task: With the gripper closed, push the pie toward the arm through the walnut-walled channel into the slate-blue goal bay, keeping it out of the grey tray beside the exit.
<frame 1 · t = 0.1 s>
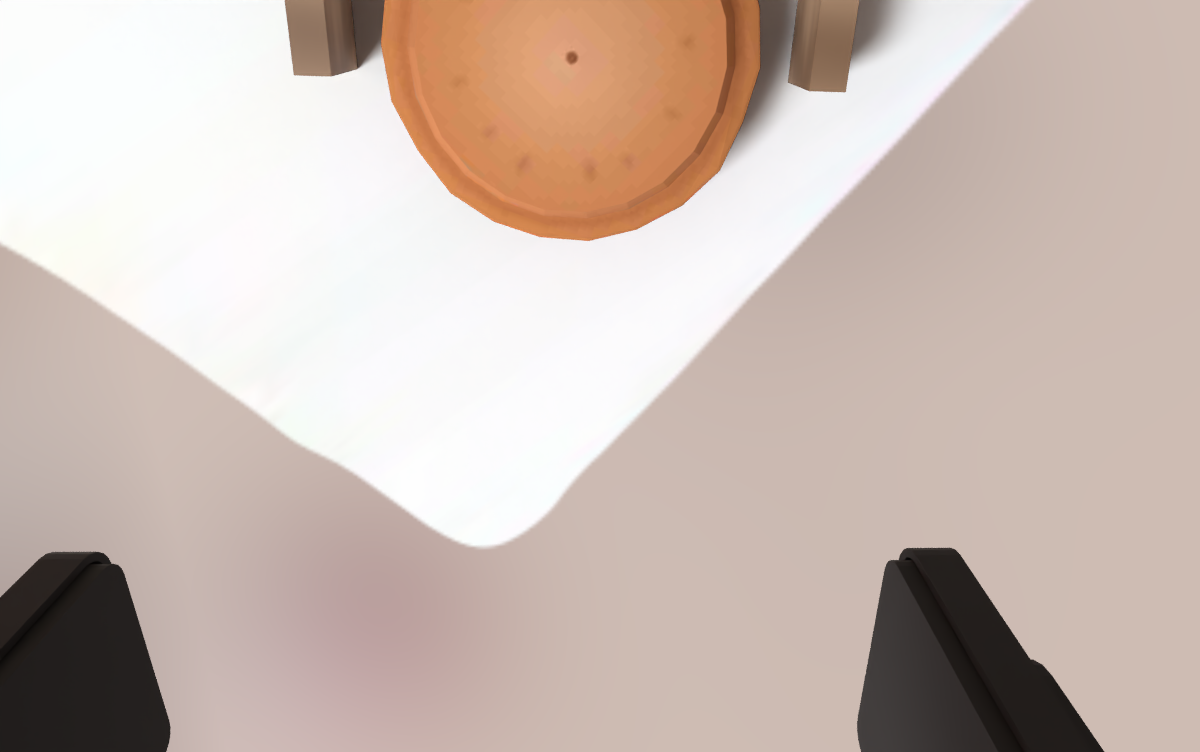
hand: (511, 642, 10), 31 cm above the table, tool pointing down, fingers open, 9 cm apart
pie: (574, 51, 36), on the table
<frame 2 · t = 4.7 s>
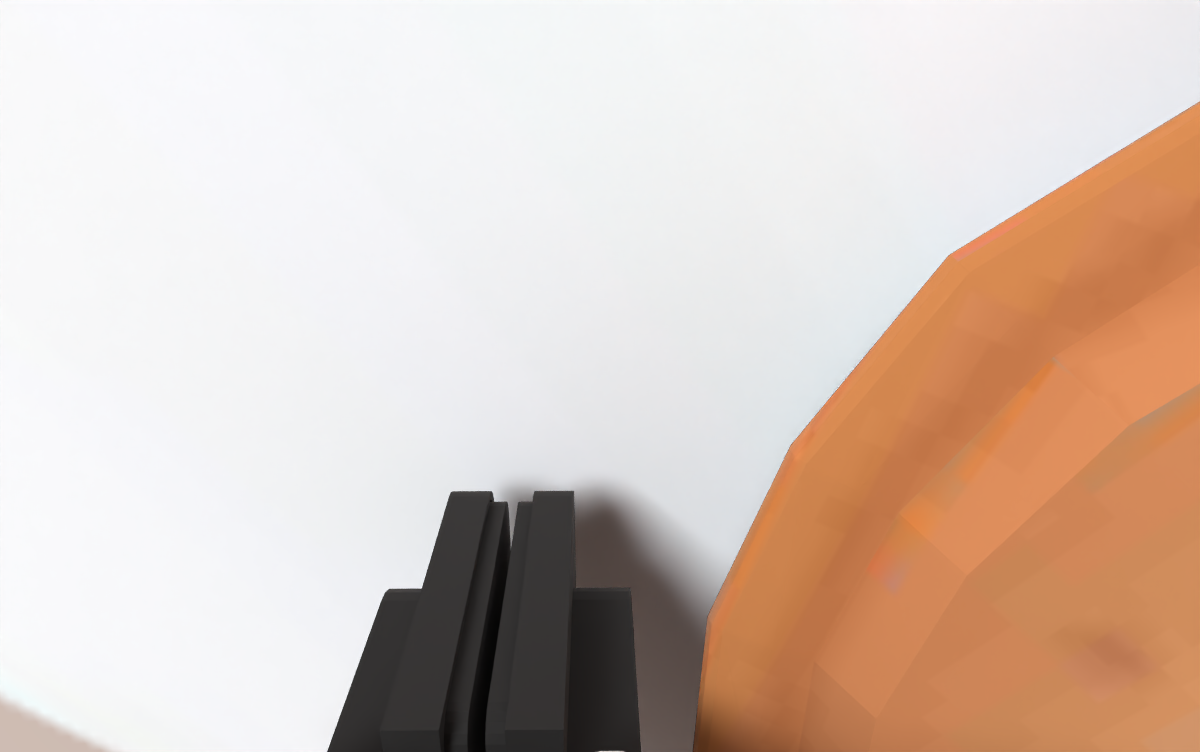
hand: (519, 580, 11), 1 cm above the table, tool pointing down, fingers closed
pie: (1172, 521, 12), on the table, touching gripper
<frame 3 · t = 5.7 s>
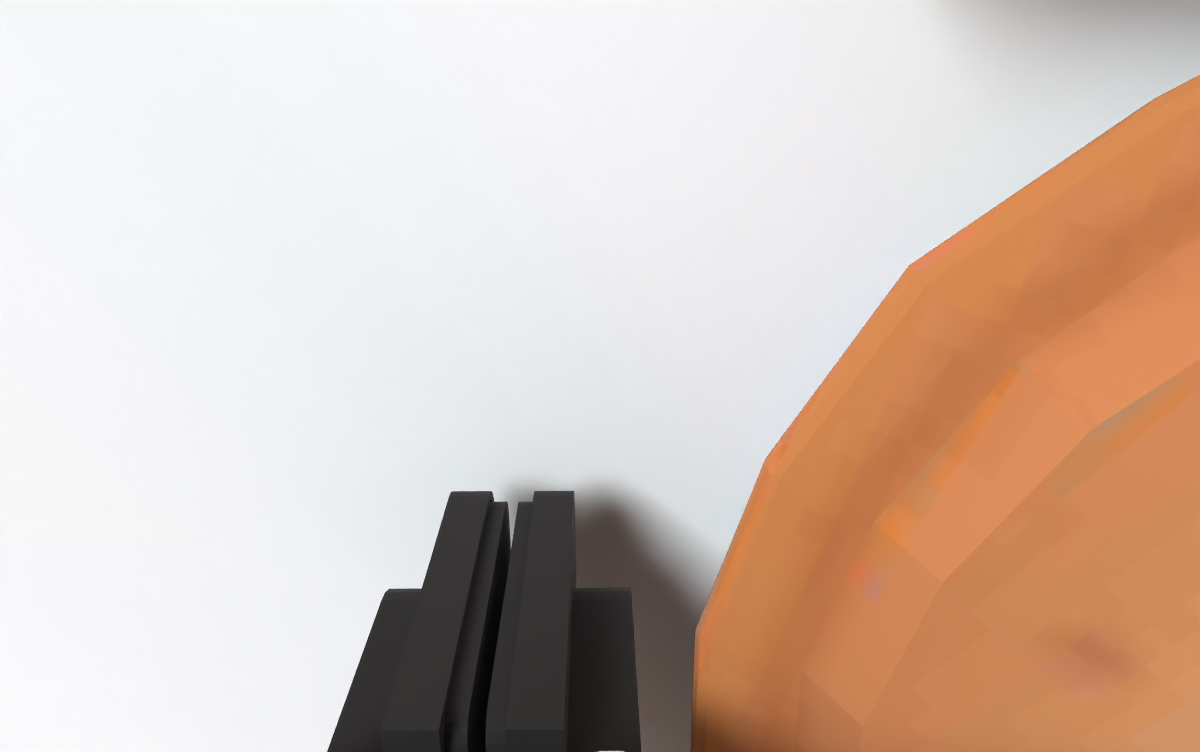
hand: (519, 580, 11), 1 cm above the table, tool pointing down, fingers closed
pie: (1173, 510, 12), on the table, touching gripper
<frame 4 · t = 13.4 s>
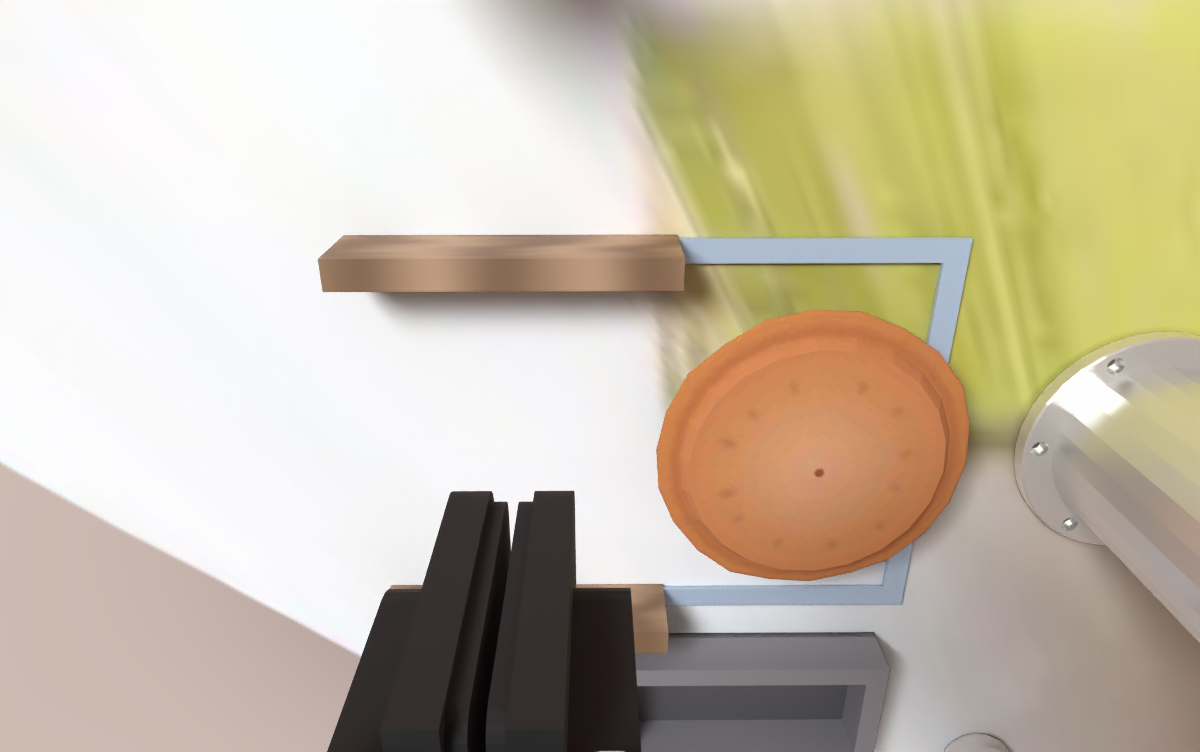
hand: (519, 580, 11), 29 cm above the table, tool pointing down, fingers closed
rook chess piece: (969, 751, 54), on the table
grey tray: (738, 682, 51), on the table
pie: (794, 422, 43), on the table, touching goal bay
goal bay: (779, 439, 43), on the table
channel walls: (520, 440, 43), on the table
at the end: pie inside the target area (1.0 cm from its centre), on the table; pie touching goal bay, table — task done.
